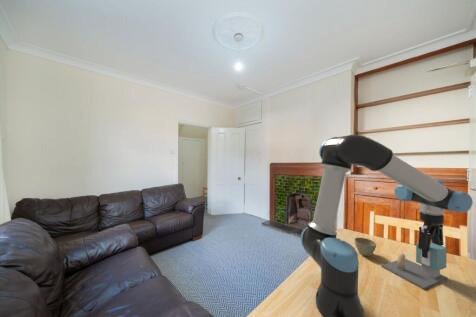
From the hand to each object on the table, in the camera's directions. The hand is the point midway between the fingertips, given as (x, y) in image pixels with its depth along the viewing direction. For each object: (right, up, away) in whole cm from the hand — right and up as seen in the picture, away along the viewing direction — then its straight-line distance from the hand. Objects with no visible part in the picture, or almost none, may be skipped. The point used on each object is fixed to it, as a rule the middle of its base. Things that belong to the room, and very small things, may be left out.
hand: (430, 262), depth 82 cm
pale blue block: (0, -1, 0) cm, 1 cm away
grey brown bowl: (-17, -6, +18) cm, 26 cm away
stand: (-6, -6, +2) cm, 9 cm away
